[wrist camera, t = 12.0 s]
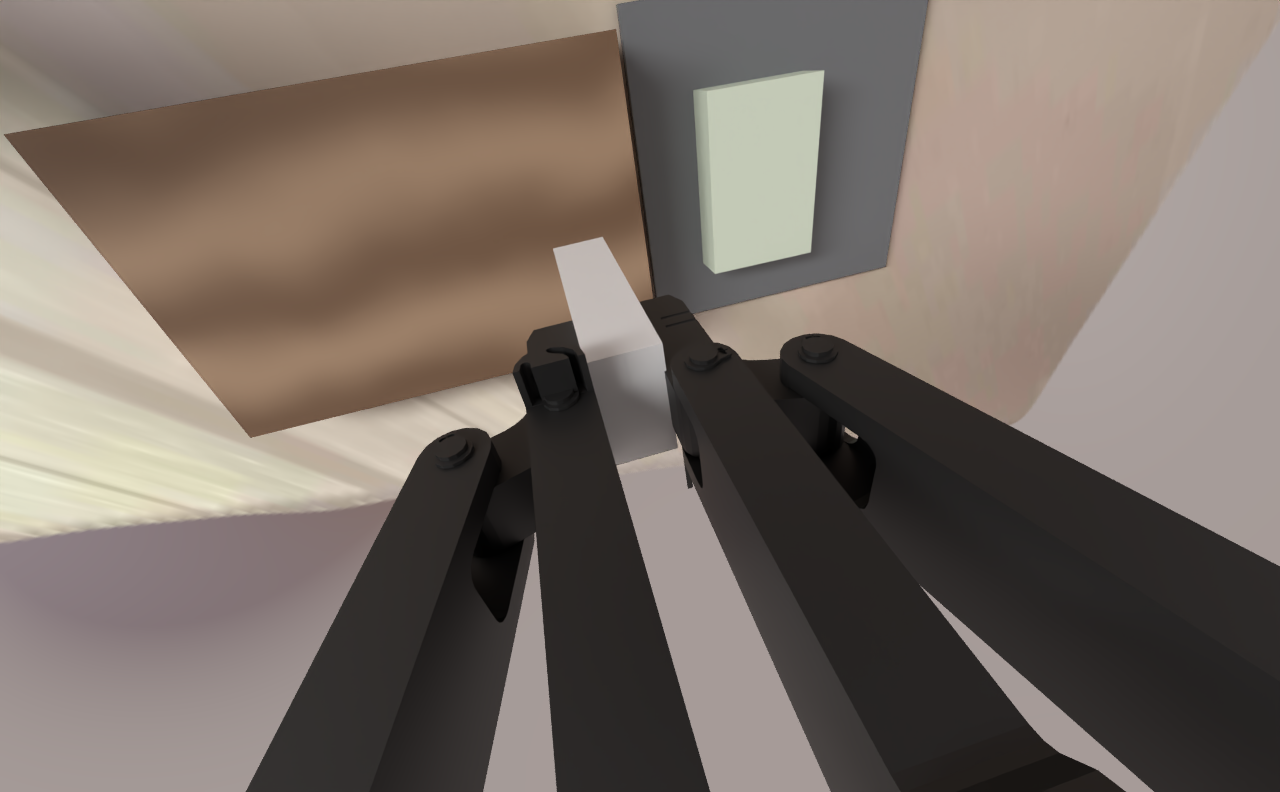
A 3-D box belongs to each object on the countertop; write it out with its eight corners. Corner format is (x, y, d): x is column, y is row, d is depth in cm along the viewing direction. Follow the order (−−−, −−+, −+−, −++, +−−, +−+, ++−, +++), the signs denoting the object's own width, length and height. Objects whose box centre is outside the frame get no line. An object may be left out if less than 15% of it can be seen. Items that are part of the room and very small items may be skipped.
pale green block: (824, 70, 23) (803, 70, 25) (706, 91, 23) (693, 90, 24) (810, 252, 28) (794, 242, 30) (715, 273, 28) (703, 262, 29)
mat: (616, 4, 22) (618, 3, 22) (930, -48, 24) (935, -49, 23) (658, 319, 31) (660, 321, 31) (881, 264, 33) (885, 266, 33)
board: (84, 124, 20) (3, 134, 17) (599, 36, 22) (616, 29, 19) (279, 395, 28) (250, 437, 25) (641, 308, 30) (658, 336, 27)
